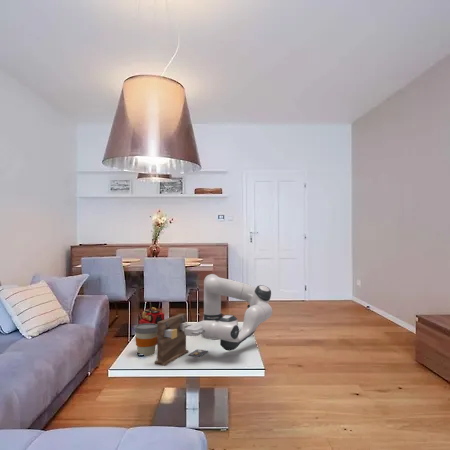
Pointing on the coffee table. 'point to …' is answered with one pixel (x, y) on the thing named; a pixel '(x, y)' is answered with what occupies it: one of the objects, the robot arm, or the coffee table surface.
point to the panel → (170, 340)
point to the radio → (151, 316)
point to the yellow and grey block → (170, 333)
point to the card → (198, 353)
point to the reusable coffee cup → (146, 338)
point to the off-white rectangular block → (182, 325)
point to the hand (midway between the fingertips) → (185, 326)
